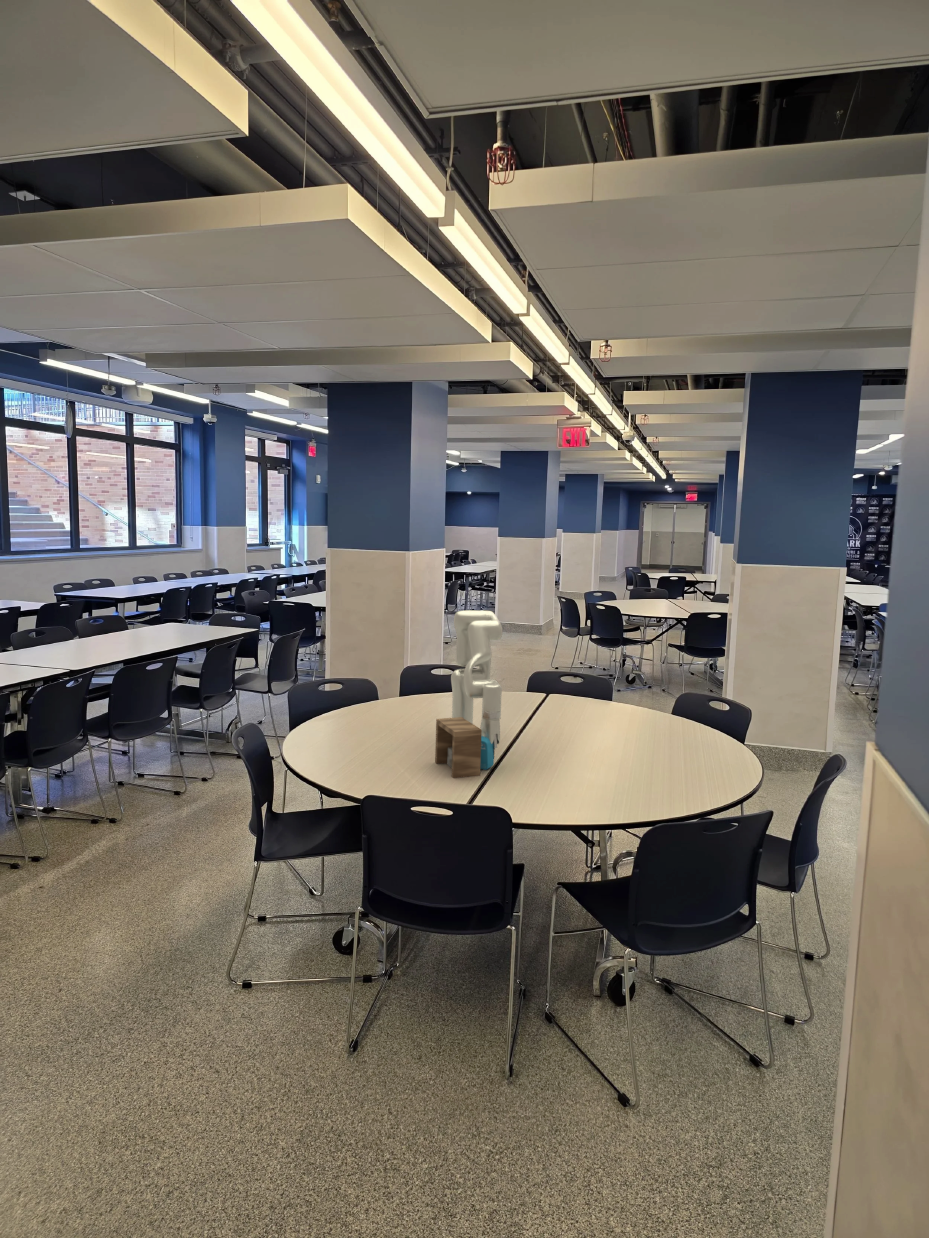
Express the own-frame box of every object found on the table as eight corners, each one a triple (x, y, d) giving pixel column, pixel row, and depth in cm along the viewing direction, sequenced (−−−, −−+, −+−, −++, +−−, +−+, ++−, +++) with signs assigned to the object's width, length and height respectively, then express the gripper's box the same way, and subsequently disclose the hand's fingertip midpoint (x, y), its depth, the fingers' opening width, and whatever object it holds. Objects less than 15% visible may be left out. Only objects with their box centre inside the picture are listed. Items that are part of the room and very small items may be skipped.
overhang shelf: (435, 762, 297) (436, 718, 295) (460, 760, 301) (461, 717, 299) (453, 778, 278) (454, 731, 276) (480, 775, 283) (481, 729, 281)
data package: (462, 764, 295) (461, 736, 292) (468, 760, 299) (467, 732, 296) (488, 770, 289) (487, 742, 286) (494, 766, 292) (493, 738, 290)
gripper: (475, 710, 298) (473, 754, 300) (490, 719, 284) (488, 765, 287) (492, 709, 301) (490, 753, 303) (508, 718, 287) (506, 764, 289)
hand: (489, 759), depth 295 cm, fingers closed
